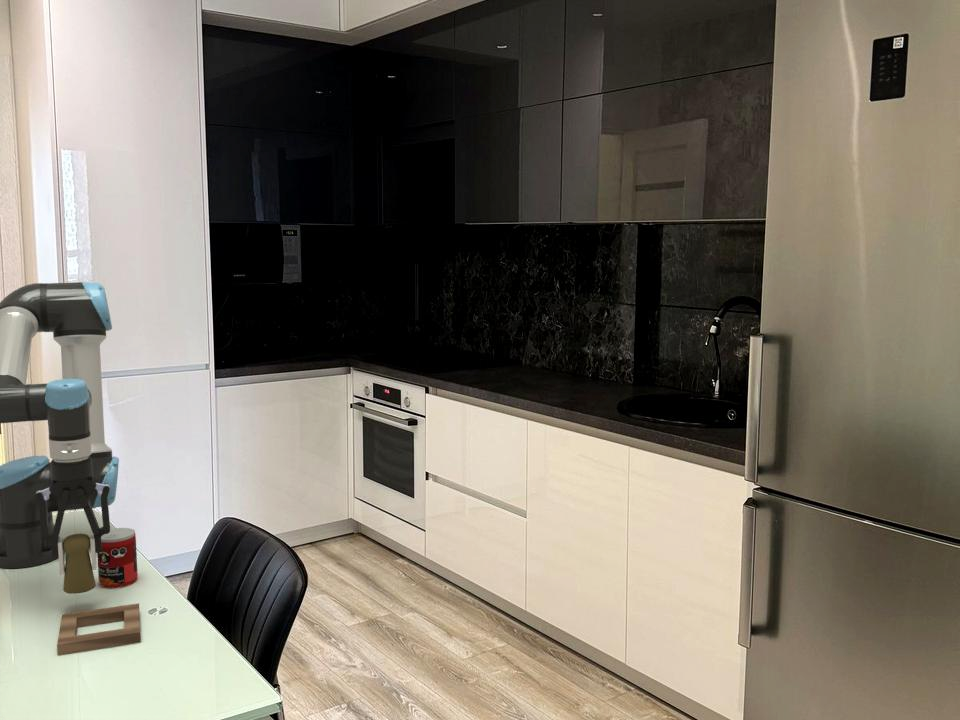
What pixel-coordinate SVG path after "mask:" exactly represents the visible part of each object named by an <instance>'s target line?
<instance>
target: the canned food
mask: <svg viewBox="0 0 960 720" xmlns="http://www.w3.org/2000/svg"><path fill="white" fill-rule="evenodd" d="M136 537H137V535H136V531H135V529H133V528H130V527H129V528H128V527H116V528H110V532H109V533H108V534H104V535H102V537H101V544H102V550H101V552H99V553H96V560H97V571H98V573H97V574H98V583H99V585H100V586H101V587H102V588H107V589H118V587H119V588H123V586H124V587H127V586H129V584H130V585H132V584H134V583H135V582H136V581H137V579H138V576H139V575H138V559H137V558H138V555H137V539H136ZM126 585H127V586H126Z"/></svg>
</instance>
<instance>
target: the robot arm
mask: <svg viewBox="0 0 960 720" xmlns="http://www.w3.org/2000/svg"><path fill="white" fill-rule="evenodd" d="M111 319H112V318H111V314H110V309H109V304H108V298H107V294H106V289H105V288H104V286H103V284H100V283H98V282H83V281H80V282H50V283H49V282H48V283H45V282H39V283H38V282H37V283H35V282H34V283H31V284H26V285H24V286H20V287H19V288H17V289H15V290H13V291H12V292H11V293H9V294H8V295H7V296H4V297H3V299H2V300H1V301H0V424H9V423H23V422H40V421H41V422H42V421H47V427H48V446H49V447H48V448H49V456H46V455H32V456H27V457H21V458H17V459H14V460H11V461H8V462H5V463H3V464H1V465H0V568H1V569H21V568H30V567H34V566H39V565H43V564H47V563H50V562H51V561H55V560H56V559H58V567H59V575H64V574H65V551H64V549H63V541H64V539H63V538H61V537H60V532H61V530H62V528H61V527H62V525H63V520H64V516H65V511H73V510H74V511H75V510H83V511H84V515H85V516H86V519H87V522H88V524H89V527H90V529H91V532H92V534H91V535H90V542H91V546H90V555H91V556H90V559H91V564H92V571H93V572H94V571H97V569H98V560H97V553H99V552H101V550H102V544H101V537H102V535H104V534H108V533H109V532H110V529H111V521H110V520H111V519H110V511H109V506H110V505H112V504H113V503H114V502H115V500H116V496H117V487H118V477H119V476H118V475H119V463H120V458H119V457H118V456H115V455H114V456H113V450H112V448H111V447H110V446H109V445H107V444H106V441H105V439H106V438H105V421H104V400H103V385H102V383H103V381H102V365H101V363H102V362H101V361H102V359H101V344H102V343H103V342H104V341H105V340H106V339H107V331H108V332H109V331H111V330H112V329H113V324H112V320H111ZM37 333H52V335H53V338H52V339H53V341H55V342H56V343H57V344H58V345H59V346H60V355H61V356H60V358H61V376H62V378H61V379H55V380H51V381H49V382H48V383H34V384H27V379H28V371H29V363H30V355H31V347H32V340H33V338H34V337H35V336H36V335H37ZM50 459H52V460H51V461H50ZM96 508H101V518H102V519H101V520H102V526H100V525H99V523H98V520H97V517H96V515H95V512H94V510H95V509H96ZM93 509H94V510H93ZM54 512H55V513H56V518H55V522H54V521H53V513H54Z"/></svg>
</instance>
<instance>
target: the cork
mask: <svg viewBox="0 0 960 720" xmlns="http://www.w3.org/2000/svg"><path fill="white" fill-rule="evenodd" d="M90 538H91V536H89V535H88V534H85V533H74V534H71V535H68V536H66V537H64V539H63V549H64V553H65V561H64V563H65V572H64V574H63V575H64V576H63V585H62V587H63V590H62V591H63V592H64V593H66V594H69V595H72V594H73V595H76V594H84V593H87V592H90V591H92V590H93V589H94V590H95V588H96V586H97V584H96V579H95V574H94V570H93V571H92V559H91V556H90V555H91V554H90V551H89V550H91V542H90Z"/></svg>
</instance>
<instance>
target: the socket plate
mask: <svg viewBox="0 0 960 720" xmlns="http://www.w3.org/2000/svg"><path fill="white" fill-rule="evenodd" d="M140 613H141V611H140V603H132V604H125V605H118V606H111V607H104V608H97V609H91V610H89V609H88V610H83V611H82V610H81V611H76V612H67V613H62V614H61V620H60V624H59V631H58V637H57V642H56V652H57V656H60V655H68V654H73V653H81V652H87V651H92V650H94V651H95V650H101V649H106V648H112V647H121V646H125V645H133V644H137V643H141V642H142V641H141V619H140V618H141V616H140V615H141V614H140ZM116 622H117V623H118V622H123V623H124V625H123V626H124V627H123V628H119V629H118V628H117V629H111V630H104V631H98V632H97V631H96V632H92V633H86V634H77V633H78V628H81V627H82V628H84V627H89V626H97V625H103V624H110V623H111V624H112V623H116Z"/></svg>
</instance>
